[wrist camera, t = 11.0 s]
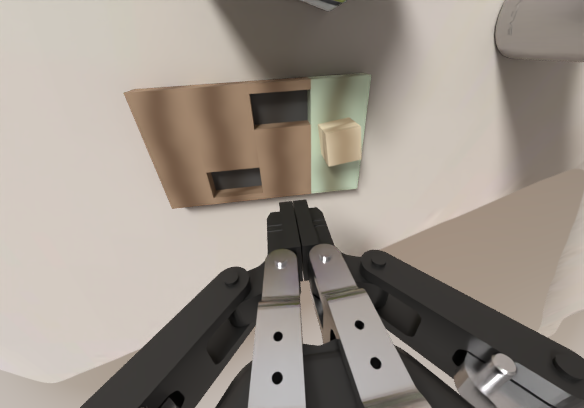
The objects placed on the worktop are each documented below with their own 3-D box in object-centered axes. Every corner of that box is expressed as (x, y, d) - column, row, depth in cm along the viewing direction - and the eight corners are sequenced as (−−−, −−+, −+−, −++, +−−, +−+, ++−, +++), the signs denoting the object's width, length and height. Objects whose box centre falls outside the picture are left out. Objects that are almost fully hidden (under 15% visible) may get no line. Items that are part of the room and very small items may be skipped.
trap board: (363, 73, 29) (371, 75, 26) (351, 180, 37) (357, 188, 35) (133, 89, 27) (123, 93, 24) (177, 199, 35) (172, 208, 33)
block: (349, 117, 29) (361, 126, 26) (350, 147, 31) (361, 159, 28) (317, 124, 29) (325, 134, 26) (321, 153, 31) (328, 166, 28)
